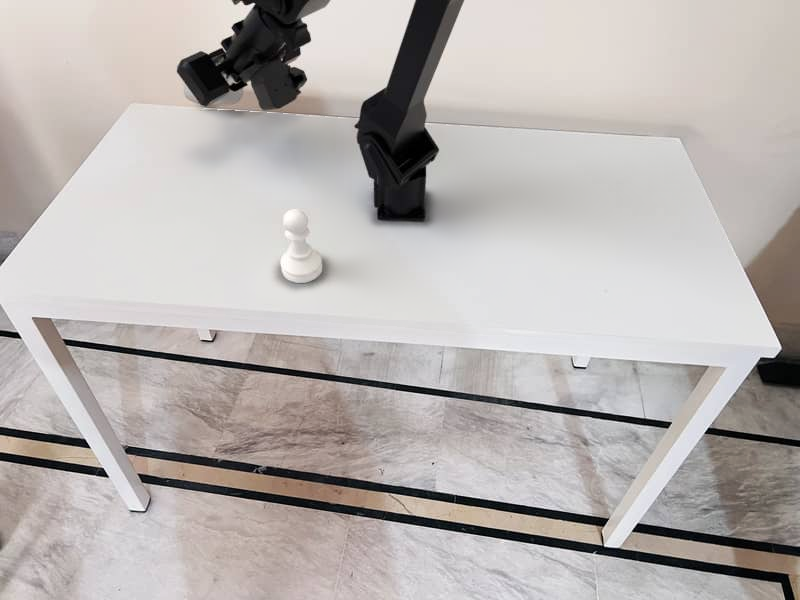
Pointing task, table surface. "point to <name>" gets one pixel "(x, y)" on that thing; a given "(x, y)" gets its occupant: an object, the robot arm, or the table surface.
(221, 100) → the beverage can
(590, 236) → the table surface
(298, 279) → the chess pawn
